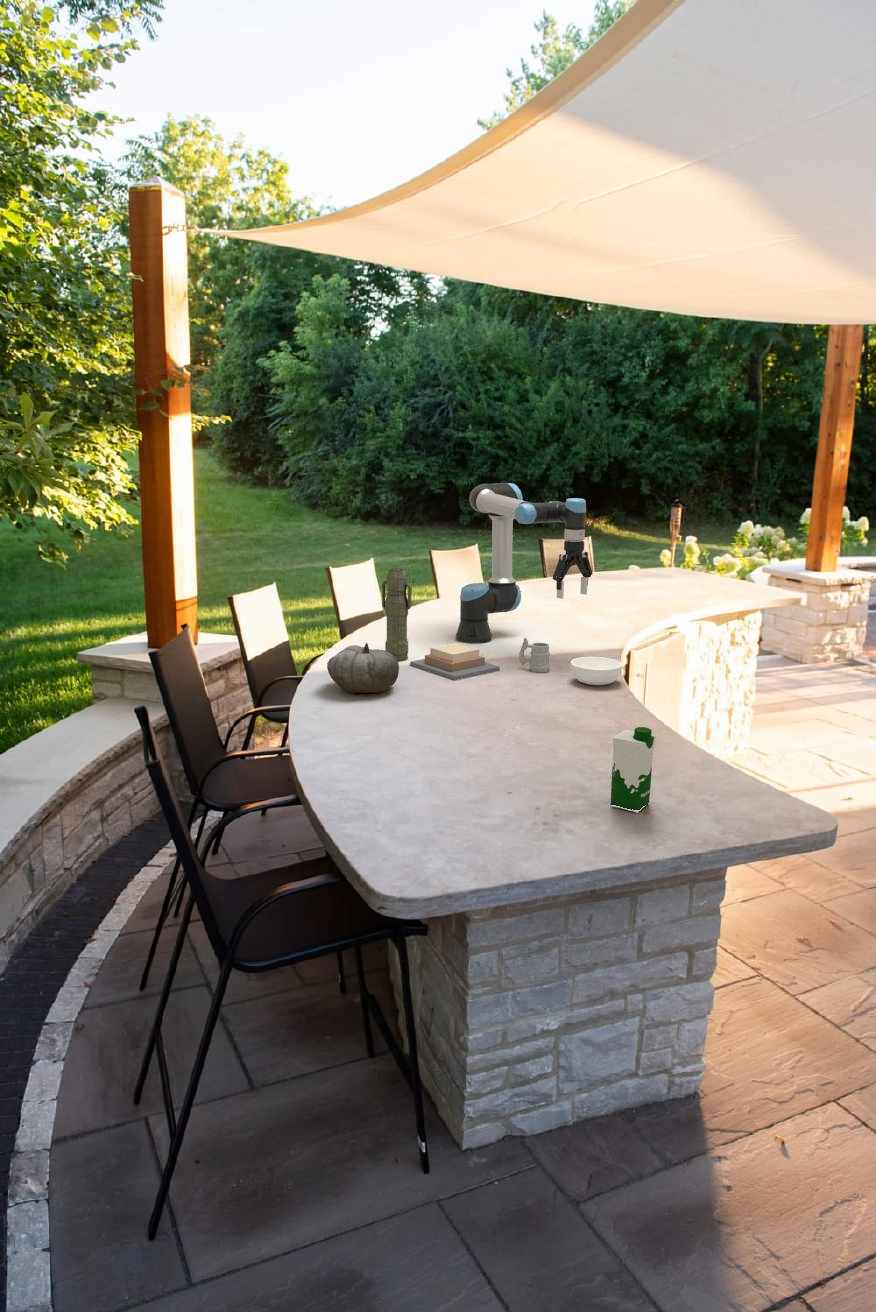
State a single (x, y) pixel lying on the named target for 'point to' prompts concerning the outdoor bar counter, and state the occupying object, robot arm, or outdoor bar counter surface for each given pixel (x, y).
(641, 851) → the outdoor bar counter surface
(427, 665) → the plinth board
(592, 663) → the bowl
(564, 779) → the outdoor bar counter surface
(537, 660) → the mug
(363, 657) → the gourd
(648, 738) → the milk carton
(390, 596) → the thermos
